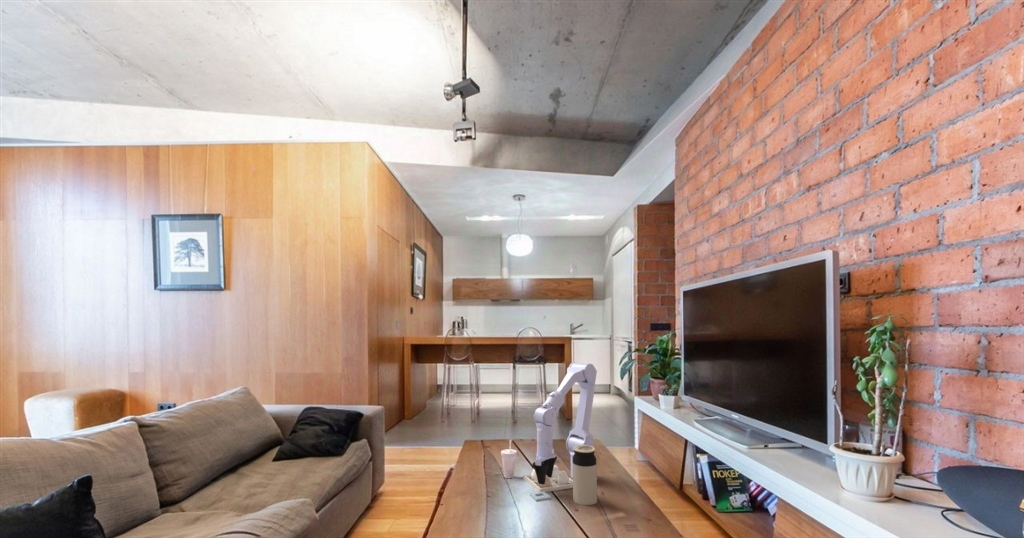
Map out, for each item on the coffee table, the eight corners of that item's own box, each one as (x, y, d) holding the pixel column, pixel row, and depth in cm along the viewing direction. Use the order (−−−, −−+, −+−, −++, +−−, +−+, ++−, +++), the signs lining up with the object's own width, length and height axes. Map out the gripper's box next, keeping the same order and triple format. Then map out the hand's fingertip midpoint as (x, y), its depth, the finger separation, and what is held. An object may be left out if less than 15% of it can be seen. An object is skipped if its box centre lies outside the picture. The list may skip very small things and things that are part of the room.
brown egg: (541, 483, 168) (539, 470, 167) (553, 485, 166) (551, 471, 165) (537, 491, 164) (535, 478, 163) (549, 493, 162) (547, 479, 161)
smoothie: (515, 480, 175) (515, 442, 176) (499, 479, 176) (499, 441, 177) (518, 474, 181) (518, 438, 182) (502, 473, 182) (502, 437, 184)
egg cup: (544, 495, 160) (544, 490, 160) (551, 502, 154) (551, 497, 154) (528, 498, 158) (528, 493, 158) (535, 504, 152) (535, 499, 152)
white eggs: (556, 476, 177) (556, 462, 177) (571, 487, 166) (571, 472, 167) (529, 480, 173) (529, 466, 173) (542, 491, 162) (541, 476, 162)
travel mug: (601, 503, 153) (600, 447, 155) (588, 510, 148) (586, 453, 149) (582, 496, 159) (581, 443, 161) (568, 503, 153) (567, 448, 155)
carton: (558, 476, 179) (558, 470, 179) (577, 489, 165) (577, 483, 165) (523, 481, 174) (523, 475, 174) (539, 495, 160) (539, 489, 160)
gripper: (548, 448, 158) (548, 488, 157) (561, 437, 172) (561, 475, 170) (529, 445, 161) (529, 485, 160) (543, 435, 174) (544, 472, 173)
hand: (545, 480), depth 165 cm, fingers open, 7 cm apart
